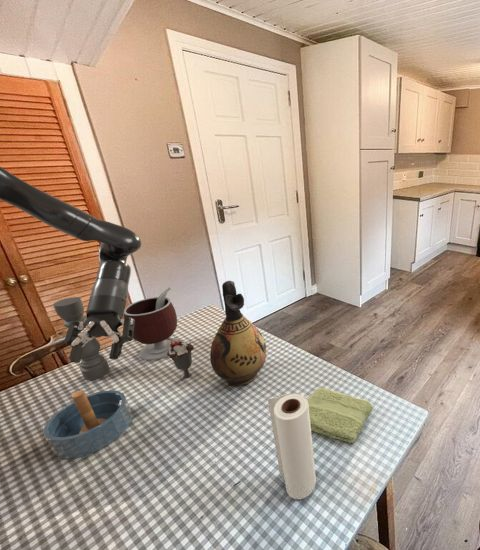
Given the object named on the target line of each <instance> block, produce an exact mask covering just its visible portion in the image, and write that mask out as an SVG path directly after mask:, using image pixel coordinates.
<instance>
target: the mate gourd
mask: <svg viewBox="0 0 480 550" xmlns="http://www.w3.org/2000/svg"><path fill="white" fill-rule="evenodd" d="M170 290H171V288H170V287H167V288H166V289H165V290H164V291H162V293H160V295H158V296H154V297H149V298H148V297H147V298H143V299H140V300H137V301H134V302H131V304H129V305H127V306H125V309H124V314H123V319H124V318H125V317H130V318H133V319H134V320H135V325H134V333H133V340H134V341H135V342H137V343H140V344H143V345H145V346H144V347H141V349H140V351H139V357H140V358H141V360H144V361H157V360H161V359H165V358H167V357H168V356H167V353H168V351H169V349H170V347H171V346H170V344H171V341H172V343H175V342H176V341H178V342H179V341H181V339H180V338H177V337H172V336H173V335H174V333H175V331H176V330H177V328H178V316H177V312H176V308H175V307H174V304H173V303H172V301H171V299H170V298H169V297H167V294H168V292H169V291H170ZM168 338H170V339H169V340H167V339H168ZM171 339H172V340H171ZM173 340H174V341H175V342H174V341H173Z"/></svg>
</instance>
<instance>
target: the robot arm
mask: <svg viewBox="0 0 480 550" xmlns="http://www.w3.org/2000/svg"><path fill="white" fill-rule="evenodd" d="M0 201H2V202H4V203H7V204H8V205H10V206H13V207H15V208H17V209H18V210H20V211H22V212H24V213H26V214H28V215H29V216H30V217H33V218H34V219H36V220H38V221H40V222H41V223H43V224H45V225H47V226H49V227H51V228H53V229H55V230H57V231H58V232H59V231H60V232H62V233H64V234H65V235H69V236H70V237H72V238H75V239H77V240H79V241H82V242H93V241H95V242H99V243H100V244H99V248H98V269H97V273H96V277H95V281H94V283H93V285H92V288H91V292H90V296H89V299H88V303H87V306H86V311H85V314H86V317H87V318H86V320H85V321H84V322H77V321H74V320H73V321H71V322H70V325H69V328H67V331H66V333H65V337H64V340H63V344H64V345H68V346H70V347H71V349H70V354H69V357H68V358H69V361H70V363H74V364H77V363H78V364H80V363H81V361H82V360H81V357H82V353H83V349H84V348H82V347H83V346H84V345H85V344H86V343H87V342H88V341H91V340H92V339H93V338H94V337H95V338H101V337H104V338H105V337H110V338H111V340H112V341H113V343H111V347H110V352H109V356H108V358H109V360H118V359H119V357H121V355H122V350H123V347H124V345H125V343H127V342H132V341H133V340H134V339H133V333H134V325H135V320H134V319H133V318H130V317H125V318H124V309H125V308H126V304H127V300H128V295H129V283H130V279H131V274H132V268H131V266H130V264H129V263H127V261H128V258H129V256H131V255H133V254H135V253H136V252H138V251H139V250H140V249H141V247H142V240H141V238H140V236H139V235H138V234H137V233H136V232H134V231H133V230H131V229H129V228H127V227H125V226H122V225H119V224H116V223H114V222H111V221H107V220H103V219H99V218H97V217H95V216H93V215H91V214H90V213H88V212H86V211H84V210H82V209H80V208H78V207H76V206H74V205H73V204H70V203H68V202H66V201H64V200H62V199H59V198H57V197H55V196H53V195H51V194H50V193H48V192H45V191H43V190H41V189H39V188H37V187H35V186H33V185H31V184H30V183H28V182H26V181H24V180H23V179H21V178H19V177H17V176H16V175H15V174H12V173H11V172H9V171H8V170H6V169H5V168H3V167H2V166H0ZM121 326H122V333H121V332H120V330H119V328H120V327H121ZM83 327H84V328H85V329H84V330H82V329H83ZM81 330H82V331H81ZM86 334H89V335H86Z"/></svg>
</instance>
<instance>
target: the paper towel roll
mask: <svg viewBox="0 0 480 550" xmlns="http://www.w3.org/2000/svg"><path fill="white" fill-rule="evenodd" d="M307 399H308V398H307V397H305V396H304V395H302V394H299V393H287V394H286V393H285V394H283V395H279V396H276V397H268V398H267V403H268V410H269V416H270V422H271V427H272V434H273V441H274V446H275V452H276V458H277V465H278V470H279V476H280V477H281V476H283V477H284V485H285V491H286V493H287V495H288V496H289V497H290V498H292V499H294V500H303V499H306V498H307V497H309V496H310V495H312V493H313V491H314V490H315V488H316V484H317V483H316V482H317V476H316V466H315V465H316V464H315V457H314V447H313V438H312V437H313V436H312V431H311V425H310V415H309V405H308V401H307Z"/></svg>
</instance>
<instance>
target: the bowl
mask: <svg viewBox="0 0 480 550" xmlns="http://www.w3.org/2000/svg"><path fill="white" fill-rule="evenodd" d="M86 396H87V398H88V401H89V403H90V405H91V407H92V409H93V411H94V414H95V416H96V418H97V419H101V418H103V419H106V421H104V422H103V423H101V424H100V425H98V426H96V427H94V428H92V429H90V430H88V431H86V432H83V433H80V434H79V432H80V430H81V429H82V428H83V427H84V426H85V424H84V422H83V419H82V417H81V415H80V413H79V411H78V409H77V407H76V405H75V403H74V401H72V402H70V403H69V404H67V405H65V406H63V407H62V408H61V409H60V410H58V411H57V412H56V413H54V414H53V415H52V416H51V417H50V418H49V419H48V421H46V423H45V424H44V427H43V430H42V432H43V437H44V439H45V440H46V442H47V444H48V446H49V447H50V450H51V451H52V453H53V454H54V456H56V457H58V459H63V460H64V459H65V460H73V459H77V458H82V457H85V456H88V455H91V454H93V453H96V452H97V451H100V450H101V449H104V448H105V447H107V446H108V445H109V446H110V444H111V443H113V442H114V441H116V440H117V439H118V438H120V436H121V435H122V434H124V433H125V431H127V429H128V428H129V426H130V424H131V423H132V420H133V413H132V409H131V407H130V404H129V402H128V400H127V398H126V396H125V393H123V392H121V391H119V390H111V389H108V390H103V391H97V392H94V393H91V394H86Z"/></svg>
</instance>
